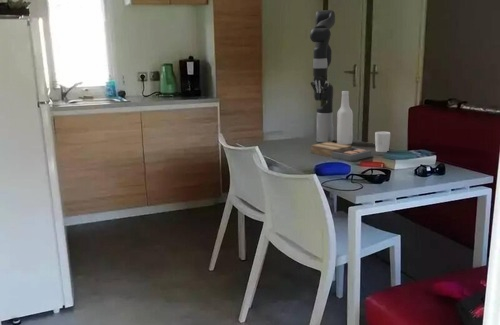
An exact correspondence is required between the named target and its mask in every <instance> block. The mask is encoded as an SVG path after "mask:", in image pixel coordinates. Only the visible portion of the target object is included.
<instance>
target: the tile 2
mask: <svg viewBox="0 0 500 325" xmlns="http://www.w3.org/2000/svg"><path fill="white" fill-rule="evenodd" d="M362 149H363V148H359V149H357V150H353V151H354V152H358V153H361V152H365V151H367V150H368V149H365V150H362Z"/></svg>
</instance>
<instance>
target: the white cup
mask: <svg viewBox="0 0 500 325" xmlns="http://www.w3.org/2000/svg"><path fill="white" fill-rule="evenodd" d="M390 142H391V132H390V131H384V130H383V131H375V132H374V144H375V152H377V153H388V152H387V151H390V150H389V149H390Z"/></svg>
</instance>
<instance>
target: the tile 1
mask: <svg viewBox="0 0 500 325" xmlns="http://www.w3.org/2000/svg"><path fill="white" fill-rule="evenodd" d="M356 153H358V152H354V151H348V152H344V154H347V155H352V154H356Z"/></svg>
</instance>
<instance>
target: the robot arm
mask: <svg viewBox="0 0 500 325" xmlns="http://www.w3.org/2000/svg"><path fill="white" fill-rule="evenodd" d="M314 18H315V21H314V22H315V27H313V28H312V29H311V30H310V33H309V39H310V41H311V42H312V43H315V47H314V48H313V61H312V62H313V63H312V75H313V77H314V78H313V81H311V82H310V86H311V87H312V89H313V96H314V97H313V98H314V100H315V101H320V102H323V101H326V103H325V104H323V105H320V106H318V107H316V142H318V143H326V142H333V141H334V138H335V137H334V136H335V135H334V133H335V130H334V129H335V128H334V126H335V125H334V124H333V118H334V117H333V113H334V112H333V101H334V86H333V84H331V82H328V78H327V77H328V68H329V66H330V65H331V62H332V47H331V46H330V44H329V42H330V39H331V29H332V28H333V27H334V25H335V23H336V14H335V11H334V10H332V9H331V10H330V9H327V10H326V9H325V10H321V9H320V10H317V11H316V12H315V17H314Z"/></svg>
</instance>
